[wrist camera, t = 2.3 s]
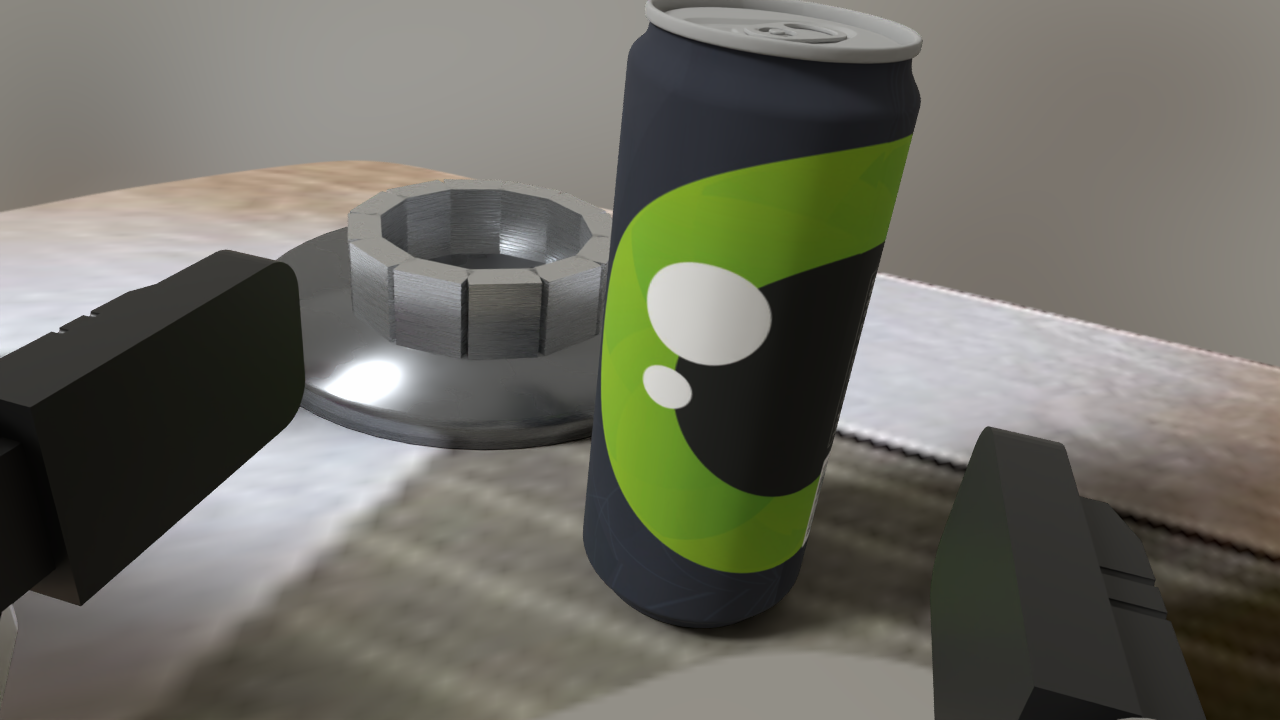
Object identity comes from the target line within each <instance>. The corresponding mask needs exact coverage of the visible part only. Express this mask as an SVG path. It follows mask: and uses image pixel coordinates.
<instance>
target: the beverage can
mask: <svg viewBox="0 0 1280 720" xmlns="http://www.w3.org/2000/svg"><path fill="white" fill-rule="evenodd" d="M645 15H646V18H647V19H648V20H649V21H650V23H649V27H648V29H647V31H646V33H644V34H643V35H642V36H641V37H640V38H638V39H637V40H636V41H635V42H634V43H633V45H632V47H631V49H630V51H629V55H628V61H627V71H626V81H625V92H624V103H623V113H622V123H621V135H620V145H619V155H618V166H617V177H616V187H615V197H614V208H613V218H612V229H611V240H610V250H609V261H608V271H607V282H606V292H605V303H604V314H603V324H602V335H601V345H600V356H599V366H598V377H597V388H596V398H595V409H594V419H593V430H592V440H591V451H590V462H589V472H588V483H587V493H586V504H585V514H584V525H583V541H584V547H585V550H586V553H587V556H588V559H589V561H590V563H591V565H592V566H593V568H594V570H595V571H596V573H597V574H598V575H599V576H600V578H601V579H602V580H603V581H604V582H605V583H606V584H607V585H608V586H609V587H610V588H611V589H612V590H613V591H614V592H615V593H616V594H617V595H618V596H619V597H620V598H621V599H622V600H623V601H625V602H626V603H627V604H628V605H630V606H631V607H633V608H634V609H636V610H638V611H639V612H641V613H643V614H645V615H647V616H649V617H651V618H654V619H656V620H659V621H662V622H665V623H669V624H673V625H678V626H684V627H692V628H713V627H721V626H726V625H730V624H734V623H737V622H740V621H742V620H745V619H747V618H749V617H752V616H755V615H757V614H759V613H761V612H763V611H765V610H767V609H769V608H771V607H772V606H774V605H775V604H776V603H778V602H779V601H780V600H781V599H782V598H783V597H784V596H785V595H786V594H787V593H788V592H789V591H790V589H791V588H792V586H793V585H794V583H795V581H796V579H797V576H798V574H799V571H800V567H801V563H802V559H803V555H804V552H805V548H806V544H807V540H808V536H809V532H810V528H811V525H812V521H813V517H814V513H815V509H816V505H817V502H818V498H819V494H820V490H821V486H822V482H823V478H824V475H825V471H826V467H827V463H828V459H829V455H830V451H831V448H832V444H833V440H834V436H835V432H836V428H837V424H838V421H839V417H840V413H841V409H842V405H843V401H844V398H845V394H846V390H847V386H848V382H849V378H850V374H851V371H852V367H853V363H854V359H855V355H856V351H857V347H858V344H859V340H860V336H861V332H862V328H863V324H864V321H865V317H866V313H867V309H868V305H869V301H870V297H871V294H872V290H873V286H874V282H875V278H876V274H877V270H878V267H879V263H880V258H881V255H882V251H883V247H884V243H885V239H886V236H887V232H888V228H889V224H890V220H891V217H892V212H893V209H894V205H895V201H896V197H897V193H898V190H899V185H900V182H901V178H902V174H903V170H904V166H905V163H906V159H907V154H908V151H909V147H910V143H911V139H912V135H913V132H914V128H915V124H916V120H917V116H918V113H919V109H920V103H921V100H920V99H921V98H920V94H919V90H918V87H917V85H916V83H915V80H914V77H913V74H912V58H914V57H915V56H917V55H918V54H919V53H920V51H921V47H922V42H923V40H922V37H921V36H920V35H919V33H917V32H916V31H914V30H913V29H911V28H909V27H907V26H904V25H902V24H899V23H897V22H894V21H891V20H888V19H884V18H881V17H877V16H874V15H870V14H867V13H863V12H858V11H854V10H849V9H845V8H839V7H835V6H830V5H824V4H819V3H812V2H807V1H800V0H647V2H646V6H645Z"/></svg>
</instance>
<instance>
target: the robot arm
mask: <svg viewBox="0 0 1280 720" xmlns="http://www.w3.org/2000/svg"><path fill="white" fill-rule="evenodd" d="M304 389H305V365H304V352H303V339H302V326H301V312H300V299H299V287H298V281H297V277H296V275H295V272H294V271H293V269H292V268H291V267H290V266H289V265H288V264H286V263H284V262H280V261H275V260H271V259H267V258H262V257H258V256H254V255H249V254H245V253H240V252H236V251H232V250H221V251H218V252H216V253H214V254H212V255H210V256H208V257H206V258H204V259H202V260H201V261H199V262H197V263H195V264H193V265H191V266H189V267H187V268H185V269H184V270H182V271H180V272H178V273H176V274H174V275H172V276H170V277H168V278H167V279H165V280H163V281H161V282H159V283H157V284H155V285H151V286H147V287H144V288H140V289H137V290H133V291H129V292H127V293H125V294H123V295H121V296H119V297H117V298H115V299H113V300H112V301H110V302H108V303H106V304H104V305H102V306H100V307H98V308H96V309H94V310H92V311H91V314H90V316H89V317H88V316H84V315H83V316H81V317H79V318H77V319H75V320H73V321H71V322H69V323H67V324H65V325H64V326H62V327H60V330H59V332H58V333H55V332H50V333H48V334H46V335H44V336H42V337H41V338H39V339H37V340H35V341H33V342H31V343H29V344H27V345H25V346H23V347H21V348H19V349H18V350H16V351H14V352H12V353H10V354H8V355H6V356H4V357H2V358H0V709H1V705H2V700H3V696H4V691H5V687H6V682H7V677H8V673H9V668H10V664H11V659H12V655H13V650H14V646H15V641H16V636H17V631H18V622H17V617H16V614H15V611H14V607H13V603H14V602H15V601H16V600H18V599H19V598H20V597H21V596H23V595H24V594H25V593H26V592H28V591H29V590H31V591H34V592H37V593H40V594H43V595H47V596H50V597H53V598H56V599H59V600H63V601H66V602H69V603H72V604H75V605H79V606H82V605H83V604H84V603H85V602H86V601H88V600H89V599H90V598H91V597H92V596H93V595H94V594H96V593H97V592H98V591H99V590H100V589H101V588H103V587H104V586H105V585H106V584H107V583H108V582H109V581H111V580H112V579H113V578H114V577H115V576H116V575H117V574H119V573H120V572H121V571H122V570H123V569H124V568H125V567H127V566H128V565H129V564H130V563H131V562H132V561H133V560H135V559H136V558H137V557H138V556H139V555H140V554H141V553H143V552H144V551H145V550H146V549H147V548H148V547H149V546H151V545H152V544H153V543H154V542H155V541H156V540H157V539H159V538H160V537H161V536H162V535H163V534H164V533H165V532H167V531H168V530H169V529H170V528H171V527H172V526H173V525H175V524H176V523H177V522H178V521H179V520H180V519H182V518H183V517H184V516H185V515H186V514H187V513H188V512H190V511H191V510H192V509H193V508H194V507H195V506H196V505H198V504H199V503H200V502H201V501H202V500H203V499H204V498H206V497H207V496H208V495H209V494H210V493H211V492H212V491H214V490H215V489H216V488H217V487H218V486H219V485H220V484H222V483H223V482H224V481H225V480H226V479H227V478H228V477H230V476H231V475H232V474H233V473H234V472H235V471H236V470H238V469H239V468H240V467H241V466H242V465H243V464H244V463H246V462H247V461H248V460H249V459H250V458H251V457H252V456H254V455H255V454H256V453H257V452H258V451H259V450H261V449H262V448H263V447H264V446H265V445H266V444H267V443H269V442H270V441H271V440H272V439H273V438H274V437H275V436H277V435H278V434H279V433H280V432H281V431H282V430H283V429H285V428H286V427H287V426H288V425H289V423H290V422H291V421H292V419H293V418H294V416H295V415H296V413H297V411H298V409H299V406H300V404H301V401H302V398H303V394H304ZM1154 582H1155V577H1154V575H1153V572H1152V569H1151V566H1150V564H1149V561H1148V558H1147V555H1146V553H1145V550H1144V547H1143V544H1142V542H1141V540H1140V539H1139V538H1138V537H1137V536H1136V535H1135V533H1134V532H1133V531H1132V530H1131V529H1130V528H1129V527H1128V526H1127V524H1126V523H1125V522H1124V521H1123V520H1122V519H1121V518H1120V517H1119V515H1118V514H1117V513H1116V512H1115V511H1114V510H1113V509H1112V508H1111V507H1110V505H1109V504H1108V503H1105V502H1101V501H1096V500H1092V499H1088V498H1084V497H1080V496H1079V494H1078V490H1077V487H1076V483H1075V480H1074V476H1073V473H1072V469H1071V466H1070V462H1069V459H1068V455H1067V452H1066V449H1065V447H1064V445H1063V444H1061V443H1059V442H1054V441H1050V440H1046V439H1041V438H1037V437H1033V436H1028V435H1024V434H1020V433H1015V432H1011V431H1007V430H1002V429H998V428H994V427H989V426H988V427H986V428H985V429H984V430H983V431H982V433H981V434H980V436H979V438H978V440H977V442H976V445H975V448H974V450H973V453H972V456H971V458H970V461H969V464H968V467H967V469H966V472H965V475H964V477H963V480H962V483H961V486H960V488H959V491H958V494H957V496H956V499H955V502H954V505H953V507H952V510H951V513H950V516H949V518H948V521H947V524H946V526H945V529H944V532H943V535H942V537H941V540H940V543H939V547H938V550H937V554H936V558H935V563H934V568H933V573H932V580H931V591H930V607H931V634H932V661H933V687H934V714H935V720H1206V718H1205V715H1204V712H1203V709H1202V707H1201V704H1200V701H1199V698H1198V696H1197V693H1196V690H1195V687H1194V685H1193V682H1192V679H1191V676H1190V674H1189V671H1188V668H1187V665H1186V663H1185V660H1184V657H1183V654H1182V652H1181V649H1180V646H1179V643H1178V641H1177V638H1176V635H1175V632H1174V630H1173V627H1172V624H1171V621H1167V620H1166V615H1167V610H1166V608H1165V605H1164V602H1163V599H1162V597H1161V594H1160V591H1159V588H1157V587H1154Z"/></svg>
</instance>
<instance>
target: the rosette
mask: <svg viewBox="0 0 1280 720" xmlns="http://www.w3.org/2000/svg"><path fill="white" fill-rule="evenodd" d="M611 229H612V218H611V216H610V214H609V213H606V211H605V210H603V209H600V208H598V207H596V206H594V205H592V204H590V203H588V202H585V201H583V200H581V199H579V198H577V197H575V196H573V195H571V194H569V193H563V194H561V191H559V190H554V189H548V188H543V187H538V186H533V185H528V184H522V183H518V182H512V181H507V182H505V183H504V184H503V182H502V180H453V179H444V183H443V182H441V181H439V180H435V181H429V182H424V183H419V184H414V185H409V186H404V187H398V188H393V189H388V190H387V192H383V191H382V192H380V193H378V194H377V195H375V196H374V197H372V198H370V199H369V200H367V201H365V202H364V203H362V204H360V205H359V206H357V207H356V208H354V209H352V210H351V211H350V213H348V227H345V228H342V229H338V230H335V231H332V232H329V233H326V234H324V235H321V236H319V237H316V238H314V239H312V240H309V241H307V242H305V243H303V244H301V245H299V246H297V247H295V248H294V249H292V250H290V251H288V252H287V253H285V254H284V255H282V256H281V257H280V258H278V259H277V260H275V261H280V262H284V263H286V264H288V265H289V266H290V267H291V268H292V269H293V271H294V272H295V275H296V277H297V281H298V287H299V299H300V312H301V326H302V339H303V352H304V365H305V389H304V394H303V398H302V401H301V404H300V406H301V407H303V408H305V409H307V410H308V411H310V412H312V413H314V414H316V415H317V416H320V417H322V418H324V419H327V420H329V421H332V422H334V423H336V424H339V425H341V426H344V427H346V428H350V429H353V430H356V431H360V432H363V433H366V434H370V435H373V436H376V437H381V438H386V439H391V440H396V441H401V442H406V443H411V444H419V445H427V446H435V447H444V448H462V449H507V448H524V447H533V446H542V445H550V444H556V443H562V442H567V441H572V440H577V439H582V438H586V437H590V436H592V430H593V419H594V409H595V398H596V388H597V377H598V366H599V356H600V345H601V335H602V324H603V314H604V303H605V292H606V282H607V271H608V261H609V250H610V240H611Z"/></svg>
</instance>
